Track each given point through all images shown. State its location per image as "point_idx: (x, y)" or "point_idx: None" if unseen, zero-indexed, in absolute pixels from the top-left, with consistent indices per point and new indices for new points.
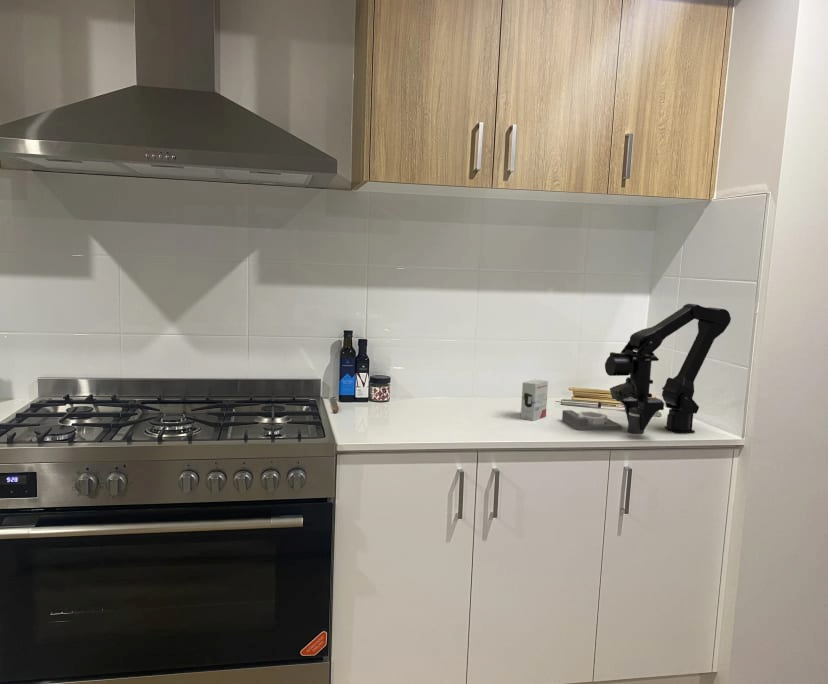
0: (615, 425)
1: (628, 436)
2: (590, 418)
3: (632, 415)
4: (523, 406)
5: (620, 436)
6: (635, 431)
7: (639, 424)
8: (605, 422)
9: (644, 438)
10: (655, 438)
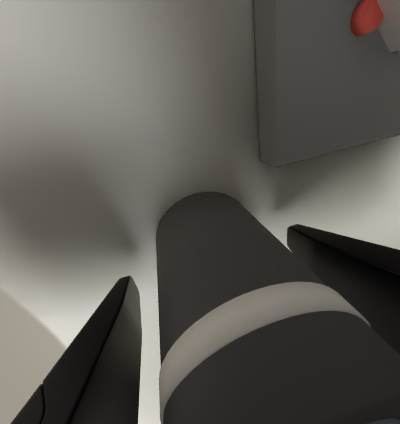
0: (283, 107)
1: (54, 163)
2: None
3: (198, 323)
4: None
5: (12, 76)
6: (157, 237)
7: (158, 298)
8: (374, 8)
9: (44, 264)
10: (77, 315)
